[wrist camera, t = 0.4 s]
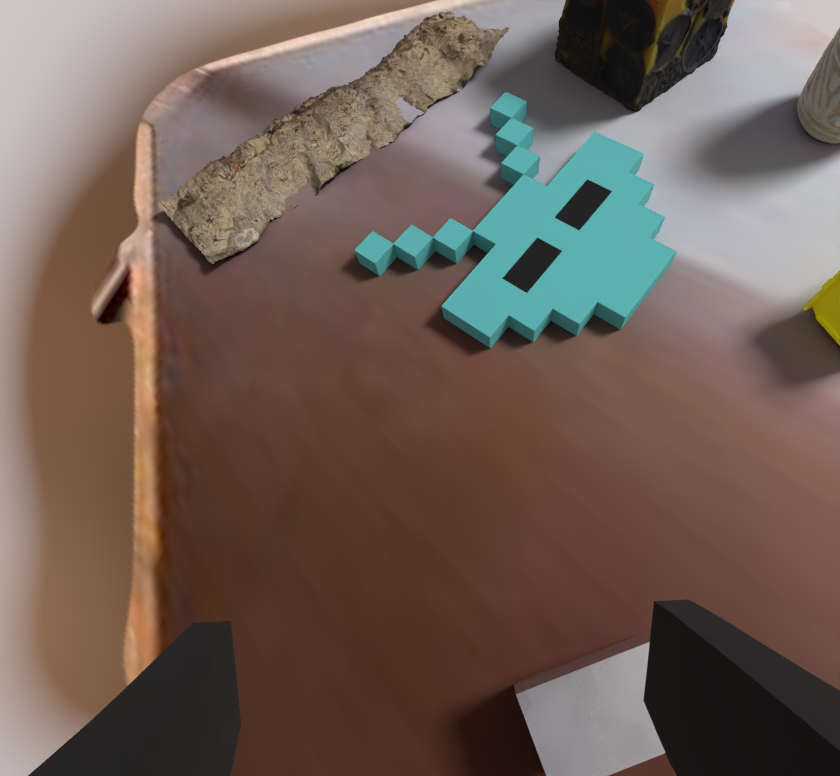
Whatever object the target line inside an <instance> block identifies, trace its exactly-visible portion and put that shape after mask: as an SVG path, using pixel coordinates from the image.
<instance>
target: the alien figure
mask: <svg viewBox="0 0 840 776" xmlns="http://www.w3.org/2000/svg"><path fill="white" fill-rule="evenodd" d="M526 110H527V101H525V100H523V99H521V98H519V97H516V96H514V95H512V94H510V93H507V92H505V93H504V94H503V95H502V96H501V97H500V98H499V99H498V100H497V101H496V103H495V104H494V105H493V106H492V107H491V108H490V115H491V125H493V126H495V127H497V128H499V129H501V130H500V131H499V132H498V133H497V134H496V151H497V152H499V153H501V154H503V155H505V156H507V157H506V158H505V159H504V160H503V162H502V163H501V179H503V180H505V181H507V182H509V183H511V184H513V185H514V186H513V187H512V188H511V189H510V190H509V191H508V192H507V193H506V195H505V196H504V197H503V198H502V199H501V200H500V201H499V202H498V203H497V205H496V206H495V207H494V208H493V209H492V210H491V211H490V212H489V213H488V215H487V216H486V217H485V218H484V219H483V220H482V221H481V222H480V223H479V225H478V226H477V227H476V228H475V229H474V230H473V231H472V230H470V229H469V228H467V227H465V226H463V225H462V224H460V223H458V222H456V221H455V220H453V219H451V218H450V219H449V220H448V221H447V223H446V224H445V225H444V226H443V227H442V228H441V229H440V230H439V231H438V232H437V233H436V235H435V236H434V237H431V236H430V235H428V234H426V233H425V232H423V231H421V230H420V229H418V228H416V227H414V226H413V225H411V226H410V227H409V228H408V229H407V230H406V231H405V232H404V233H403V234H402V235H401V236H400V237H399V238H398V239H397V241H396V242H395V243H394V244H393V243H391V242H390V241H388V240H386V239H385V238H383V237H381V236H380V235H378V234H377V233H375V232H373V231H372V232H371V233H370V234H369V236H368V237H367V238H366V239H365V240H364V241H363V242H362V243H361V244H360V245H359V246H358V247H357V248H356V249H355V253H356V255H357V258H358V260H359V263H360V264H362V265H363V266H365V267H366V268H368V269H369V270H371V271H372V272H374V273H375V274H377V275H379V276H380V275H381V274H382V273H383V272H384V271H385V270H386V269H387V268H388V267H389V266H390V264H391V263H392V262H393V261H394V260H395V259H396V258H397V257H398V258H399V259H401V260H403V261H404V262H406V263H407V264H409V265H411V266H412V267H414V268H415V269H417V270H419V268H420V267H421V266H422V265H423V264H424V263H425V262H426V261H427V260H428V259H429V257H430V256H431V255H432V254H433V253H434V252H435V251H436V252H438V253H439V254H441V255H443V256H444V257H446V258H448V259H449V260H451V261H453V262H454V263H456V264H457V263H458V262H459V261H460V260H461V259H462V258H463V257H464V255H465V254H466V253H467V252H468V251H469V250H470V249H471V248H472V246H473V245H475V246H477V247H478V248H480V249H482V250H484V251H485V252H487V253H488V254H487V255H486V256H485V257H484V258H483V259H482V261H481V262H480V263H479V264H478V265H477V266H476V267H475V269H474V270H473V271H472V272H471V273H470V274H469V275H468V277H467V278H466V279H465V280H464V281H463V282H462V283H461V284H460V286H459V287H458V288H457V289H456V290H455V291H454V292H453V294H452V295H451V296H450V297H449V298H448V299H447V300H446V302H445V303H444V304H443V305H442V312H443V317H444V319H446V320H448V321H449V322H451V323H452V324H454V325H455V326H457V327H458V328H460V329H461V330H463V331H464V332H466V333H467V334H469V335H471V336H472V337H474V338H475V339H477V340H478V341H480V342H481V343H483V344H484V345H486V346H487V347H489V348H491V347H492V346H493V345H494V344H495V342H496V341H497V340H498V339H499V338H500V336H501V335H502V334H503V333H504V332H505V330H506V329H507V328H508V327H510V328H511V329H513V330H514V331H516V332H517V333H519V334H521V335H522V336H524V337H525V338H527V339H529V340H530V341H532V342H534V341H535V340H536V338H537V337H538V336H539V335H540V333H541V332H542V331H543V330H544V328H545V327H546V326H547V325H548V324H549V322H550V321H552V322H554V323H556V324H557V325H559V326H561V327H562V328H564V329H566V330H567V331H569V332H571V333H572V334H574V335H575V336H577V335H578V334H579V332H580V331H581V330H582V329H583V327H584V326H585V325H586V324H587V322H588V321H589V320H590V319H591V317H592V316H593V315H596V316H597V317H599V318H601V319H603V320H604V321H606V322H608V323H610V324H611V325H613V326H615V327H616V328H618V329H620V330H621V329H622V327H623V326H624V325H625V323H626V322H627V321H628V319H629V318H630V317H631V316H632V314H633V313H634V312H635V310H636V309H637V308H638V306H639V305H640V304H641V303H642V301H643V300H644V299H645V297H646V296H647V295H648V293H649V292H650V291H651V290H652V288H653V287H654V286H655V284H656V283H657V282H658V280H659V279H660V278H661V277H662V275H663V274H664V273H665V271H666V270H667V269H668V267H669V266H670V264H671V262H672V260H673V258H674V256H675V254H676V252H677V251H675V250H673V249H671V248H669V247H667V246H665V245H663V244H661V243H659V242H657V241H655V240H653V239H654V238H655V236H656V235H657V234H658V233H659V230H660V228H661V226H662V223H663V221H664V218H665V217H664V216H662V215H660V214H658V213H656V212H654V211H652V210H650V209H648V208H646V207H644V205H645V204H646V203H647V202H648V200H649V197H650V195H651V192H652V189H653V186H654V184H652V183H650V182H648V181H646V180H644V179H641V178H639V177H637V176H635V174H636V173H637V172H638V171H639V168H640V164H641V161H642V158H643V155H644V154H643V153H641V152H639V151H637V150H634V149H632V148H630V147H628V146H625V145H623V144H621V143H619V142H617V141H614V140H612V139H610V138H608V137H605V136H603V135H601V134H599V133H596V132H594V133H593V134H592V135H591V136H590V138H589V139H588V140H587V141H586V142H585V143H584V144H583V146H582V147H581V148H580V149H579V150H578V151H577V152H576V154H575V155H574V156H573V157H572V158H571V159H570V160H569V161H568V163H567V164H566V165H565V166H564V167H563V168H562V169H561V171H560V172H559V173H558V174H557V175H556V176H555V177H554V179H553V180H552V181H551V182H550V183H549V184H548V185H547V186H546V185H544V184H542V183H540V182H538V181H536V180H534V179H533V178H534V177H535V176H536V175H537V173H538V172H539V161H540V156H538V155H536V154H534V153H532V152H530V151H528V149H529V148H530V146H531V145H532V140H533V128H532V127H530V126H528V125H526V124H524V123H522V122H523V121H524V120H525V119H526Z"/></svg>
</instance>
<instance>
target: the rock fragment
mask: <svg viewBox="0 0 840 776" xmlns="http://www.w3.org/2000/svg"><path fill="white" fill-rule="evenodd" d="M508 29H509V28H508V27H507V28H505V29H503V30H499V29H497V30H494V29H480V28H478V27H476V25H475V22H472V20H467V18H466V17H465V16H462V17H456V15H455V14H454V13H453V12H451V11H450V12H446V13H444V12H441V13H439V15H435V14H434V15H433V16H431V17H427V18H425V19H424V20H423V22H422V23H421V24H420V26H419V25H417V26H416V27H414V29H413V30H412V31H411V32H410V33H409V34H408V35H404V39H402V40H400V41H399V42H398V43H397V45H396V46H395V48H394V49H393V51H392V52H391V53H390V54H388V55H387V56H386V57H383V60H382V61H381V62H380V64H379V65H377V66H376V67H374V66H373V67H374V68H371V69H370V70H369V71H368V72H366V73H365V75H364V76H362V77H361V78H360V79H357V80H354V81H353V82H351V83H350V82H349V85H344V86H338V87H331V88H329V89H328V90H327V92H325V93H322V94H320V95H319V96H318V97H317V96H316V97H310V98H309V99H308V100H307V101H305V102H303V105H301V107H299V109H298V110H297V107H294V109H295V110H294V111H293V112H292V113H290V114H286V115H285V116H282V117H281V119H275V120H274V121H273V122H272V123H271V124H269V125H268V127H267V129H266V130H264V131H262V132H260V133H259V135H256V136H255V137H252V138H250V139H248V140H247V141H244V142H243V143H242V144H239V145H238V146H237V148H236V150H235V151H234V152H232V153H231V154H230V155H229V156H228V157H226V158H225V157H224V156H223V157H222V158H223V159H222V158H221V159H219V160H215V161H213V162H212V161H210V162H209V164H207V166H206V167H205V168H204V169H202V170H200V171H199V172H198V173H197V174H196V175H195V176H194V177H193V179H191V180H190V182H187V183H186V184H185V186H181V187H179V190H178V193H177V194H174V195H172V196H171V197H170V198H169V199H168V201H167V200H163V201H160V202H157V205H159V206H160V208H161V209H162V210H163V212H164V213H166V214H167V215H168V216H169V218H171V220H172V221H174V223H175V224H176V226H177V227H178V228H180V230H181V231H182V232H183V233H184V235H185V236H186V237H187V238H188V239H189V241H191V243H192V244H193V245H194V246H195V247H197V248H198V249H199V250H200V251H201V252H202V253H203V254H204V256H206V259H207V261H209V262H210V263H211V264H214V263H215V262H216V261H219V260H220V259H224V258H225V257H227V256H231V255H233V254H235V253H236V252H238V251H244V248H245V249H246V250H247V247H249V246H250V245H251V244H253V243H256V242H257V241H258V240H259V239H260V237H261V235H262V233H263V232H264V230H265V228H266V227H267V225H268V222H269V221H270V220H273V219H274V218H278V217H282V216H278V215H281V213H280V211H282V210H285V202H284V199H285V198H287V197H289V196H290V197H295V198H296V196H295V194H296V193H297V192H298V188H300V187H302V186H303V187H304V185H305V184H307V182H308V183H309V185H311V184H312V185H314V186H315V187H317V188H318V193H319V190H320V188H321V187H322V185H323V184H324V182H325V181H328V180H329V179H330V178H332V177H335V175H336V174H338V173H339V169H343V168H345V167H347V166H349V165H352V164H353V162H357V161H358V160H360V159H362V158H365V157H366V156H368V155H369V154H370V152H369V149H370V148H373V149H375V150H378V149H379V148H380V147H383V146H385V145H389V143H390V142H394V141H395V140H396V139H397V138H398V134H399V133H400V132H401V131H402V130H403V129H404V126H405V125H409V124H411V123H408V122H406V121H405V120H404V117H403V116H402V115H400V113H402V111H401V110H400V109H399V108H398V107H397V105H396V104H395V103H394V102H395V101H396V100H397V99H399V98H400V97H402V98H403V100H404V101H406V102H408V103H410V104H411V105H412V106H415V107H416V108H417V109H420V110H421V111H423V112H424V114H425V112H426V110H427V107H428V106H429V105H431V104H433V103H434V102H435V101H437V99H441V98H442V97H445V96H448V95H451V94H453V93H454V92H456V93H457V92H459V91H457V88H459V89H461V88H462V89H463V87H464V86H465V85H466V83H467V82H468V81H469V79H470V77H471V76H472V75H473V71H474V69H475V67H476V66H478V65H480V66H483V65H486V64H487V62H488V61H489V60H490V58H491V56H492V54H491V53H492V51H493V50H494V46H495V45H496V44H497V42H498V41H499V39H500V38H501V37H503V35H504V34H505V33H506V32H507V31H508ZM422 115H423V114H422ZM418 116H419V115H418ZM415 119H416V118H415ZM415 119H414V120H415ZM414 120H413V121H414ZM412 123H413V122H412ZM392 137H393V139H392ZM305 186H306V185H305ZM317 195H318V194H316V195H315V196H317ZM296 206H298V205H293V204H292V205H291V206H290V207H291V209H293V207H296ZM283 215H284V214H283Z"/></svg>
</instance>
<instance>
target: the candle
mask: <svg viewBox="0 0 840 776" xmlns="http://www.w3.org/2000/svg"><path fill="white" fill-rule="evenodd" d="M734 1H735V0H566V2H565V6H564V9H563V12H562V16H561V18H560V20H559V31H558V32H559V35H558V37H557V39H558V43H557V44H556V46H557V48H556V52H555V59H556V60H557V61H559V62H562V64H563V65H564V66H566V67H568V68H570V69H571V70H572V71H573V73H575V74H577V75H579V76H580V77H582V78H583V79H584V80H586V81H587V82H589V83H591V84H593V85H595V86H596V87H597V89H600V90H602V91H603V92H604V93H606V94H608V95H610V96H612V97H613V98H615V99H616V100H618V101H619V102H621V103H622V104H623V105H624V106H625V107H626V108H628V109H631V110H634V111H637V110H640V109H641V108H642V107H643V105H645V104H647V103H649V102H651V101H653V100H654V98H655V97H657V96H658V95H660V94H661V93H662V92H664V91H668V90H669V89H670V88H671V87H672V86H673V85H675V84H676V83H677V82H678V81H680V80H681V79H683V78H684V77H685V76H687V75H688V74H690V73H692V72H694V71H695V69H696V68H697V67H699V66H701V65H702V64H704V63H705V62H706V61H708V60H710V59H712V58H713V57H714V55H715V54H716V52H717V49H718V45H719V42H720V39H721V37H722V36H723V35H724V33H725V30H726V28H727V19H728V15H729V13H730V10H731V7H732V5H733V3H734Z"/></svg>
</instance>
